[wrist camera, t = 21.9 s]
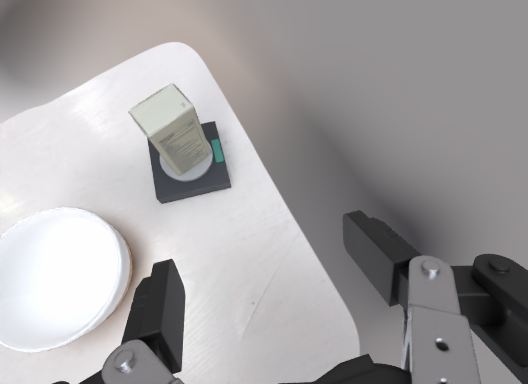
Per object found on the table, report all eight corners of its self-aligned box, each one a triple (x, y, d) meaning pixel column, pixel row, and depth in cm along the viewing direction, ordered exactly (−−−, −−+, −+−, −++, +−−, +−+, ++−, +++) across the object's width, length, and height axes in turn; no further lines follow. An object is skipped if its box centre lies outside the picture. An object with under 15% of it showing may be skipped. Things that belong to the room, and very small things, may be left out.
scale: (216, 129, 47) (214, 118, 44) (231, 187, 44) (229, 179, 40) (152, 142, 45) (144, 132, 42) (162, 203, 42) (154, 197, 39)
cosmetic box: (195, 134, 42) (174, 79, 31) (212, 153, 42) (197, 104, 30) (160, 158, 41) (125, 109, 29) (177, 178, 40) (147, 137, 28)
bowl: (160, 307, 38) (137, 313, 30) (38, 359, 35) (-20, 381, 27) (130, 204, 42) (104, 187, 34) (21, 244, 39) (-34, 235, 32)
